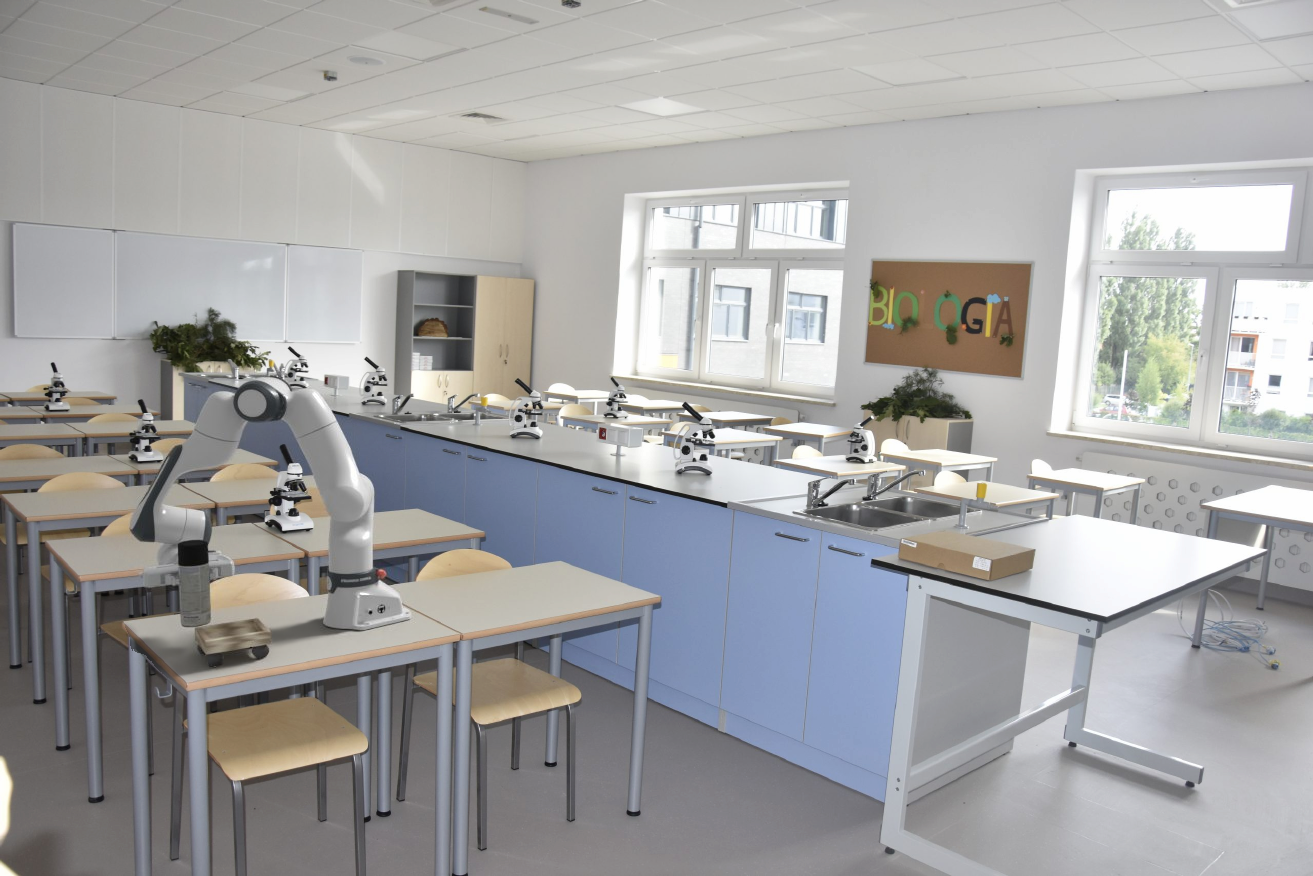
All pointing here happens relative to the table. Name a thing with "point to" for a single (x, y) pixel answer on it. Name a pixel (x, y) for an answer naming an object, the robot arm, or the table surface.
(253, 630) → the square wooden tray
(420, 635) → the table surface
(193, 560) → the spray can
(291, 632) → the table surface
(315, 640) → the table surface
